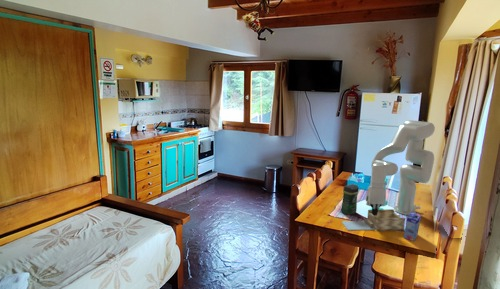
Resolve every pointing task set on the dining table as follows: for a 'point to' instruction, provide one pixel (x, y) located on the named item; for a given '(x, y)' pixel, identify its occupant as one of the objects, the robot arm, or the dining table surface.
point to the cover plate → (358, 225)
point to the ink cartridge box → (412, 226)
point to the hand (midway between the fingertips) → (374, 214)
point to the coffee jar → (350, 199)
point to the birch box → (386, 220)
